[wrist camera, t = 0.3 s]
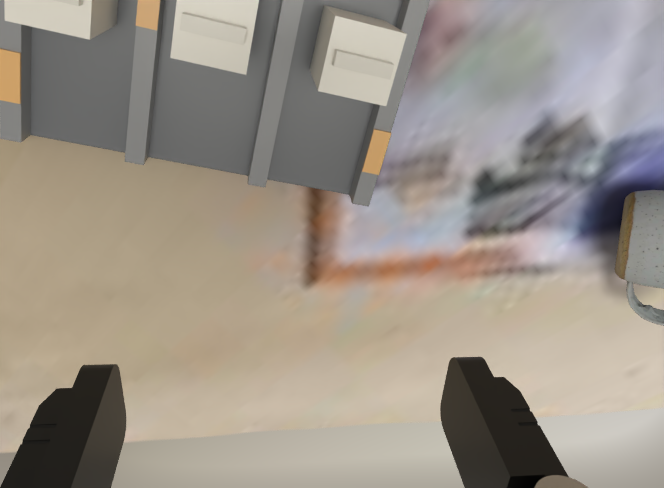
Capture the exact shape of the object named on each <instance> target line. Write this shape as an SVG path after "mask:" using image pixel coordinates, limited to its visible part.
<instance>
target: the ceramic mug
mask: <svg viewBox="0 0 664 488" xmlns="http://www.w3.org/2000/svg"><path fill="white" fill-rule="evenodd" d="M615 273H616V274H617V275H618V276H619V277H620V278H621V279H624V280H626V281H627V289H626V291H627V298H628V301H629V304H630V306H631V308H632V309H633V310H634V311H635V312H636V313H637V314H638V315H639V316H640V317H642V318H643V319H645V320H647V321H650V322H652V323H655V324H659V325H663V326H664V310H660V309H656V308H653V307H652V306H650V305H643V304H642V303H641V302H640V301H639V300H638V299H637V297H636V296H635V294H634V289H633V283H635V284H639V285H644V286H650V287H656V288H664V191H663V190H646V191H636V192H632V193H630V194H629V195H628V196H627V197H626V198H625V202H624V208H623V215H622V223H621V229H620V235H619V243H618V251H617V257H616V264H615Z"/></svg>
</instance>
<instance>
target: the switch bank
mask: <svg viewBox="0 0 664 488" xmlns="http://www.w3.org/2000/svg"><path fill="white" fill-rule="evenodd" d="M176 2H177V0H118V8H117V23H116V26H114V27H112V28H110V29H108V30H106V31H105V32H103V33H101V34H99V35H97V36H96V37H94V38H92V39H90V40H89V39H84V38H80V37H75V36H71V35H67V34H62V33H58V32H53V31H49V30H44V29H40V28H35V27H31V26H27V25H22V24H18V23H13V22H9V21H5V10H4V0H0V139H5V140H11V141H16V142H22V141H24V140H25V139H26V138H27V137H28V136H30V135H34V136H39V137H45V138H50V139H55V140H61V141H66V142H71V143H77V144H82V145H87V146H93V147H98V148H103V149H109V150H114V151H119V152H125V162H130V163H135V164H141V165H144V164H145V162H146V160H147V158H148V157H151V158H157V159H162V160H167V161H173V162H178V163H183V164H189V165H194V166H199V167H205V168H210V169H215V170H221V171H226V172H231V173H237V174H242V175H247V176H248V184H249V185H255V186H260V187H266V182H267V179H269V180H274V181H279V182H285V183H290V184H295V185H301V186H306V187H311V188H317V189H322V190H327V191H333V192H338V193H343V194H349V195H350V198H351V201H352V204H358V205H363V206H369V204H370V200H371V197H372V194H373V190H374V187H375V183H376V180H377V177H378V175H379V173H380V170H381V166H382V163H383V159H384V156H385V153H386V149H387V146H388V143H389V139H390V136H391V130H392V126H393V123H394V120H395V116H396V113H397V110H398V106H399V103H400V99H401V96H402V93H403V89H404V86H405V83H406V79H407V76H408V73H409V69H410V66H411V62H412V59H413V56H414V52H415V49H416V46H417V42H418V39H419V36H420V32H421V29H422V25H423V22H424V19H425V15H426V12H427V9H428V5H429V2H430V0H259V3H258V9H257V15H256V21H255V27H254V32H253V38H252V44H251V50H250V55H249V61H248V67H247V73H246V75H244V74H240V73H235V72H231V71H227V70H222V69H218V68H213V67H209V66H204V65H200V64H195V63H191V62H187V61H182V60H178V59H173V58H170V55H171V46H172V37H173V29H174V20H175V11H176ZM324 5H326V6H330V7H334V8H338V9H342V10H345V11H349V12H353V13H357V14H361V15H365V16H369V17H373V18H376V19H380V20H384V21H386V22H388V23H390V24H391V25H393V26H395V27H396V28H398V29H400V30H401V31H403V32H405V33H406V34H407V36H406V39H405V43H404V46H403V50H402V53H401V56H400V60H399V63H398V67H397V70H396V74H395V77H394V81H393V84H392V88H391V91H390V95H389V98H388V102H387V105H386V106H382V105H378V104H373V103H369V102H364V101H360V100H355V99H351V98H347V97H342V96H338V95H333V94H329V93H324V92H320V91H318V90H317V87H316V85H315V82H314V80H313V77H312V75H311V72H310V66H311V62H312V57H313V53H314V48H315V44H316V39H317V35H318V30H319V26H320V21H321V17H322V12H323V8H324Z"/></svg>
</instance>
